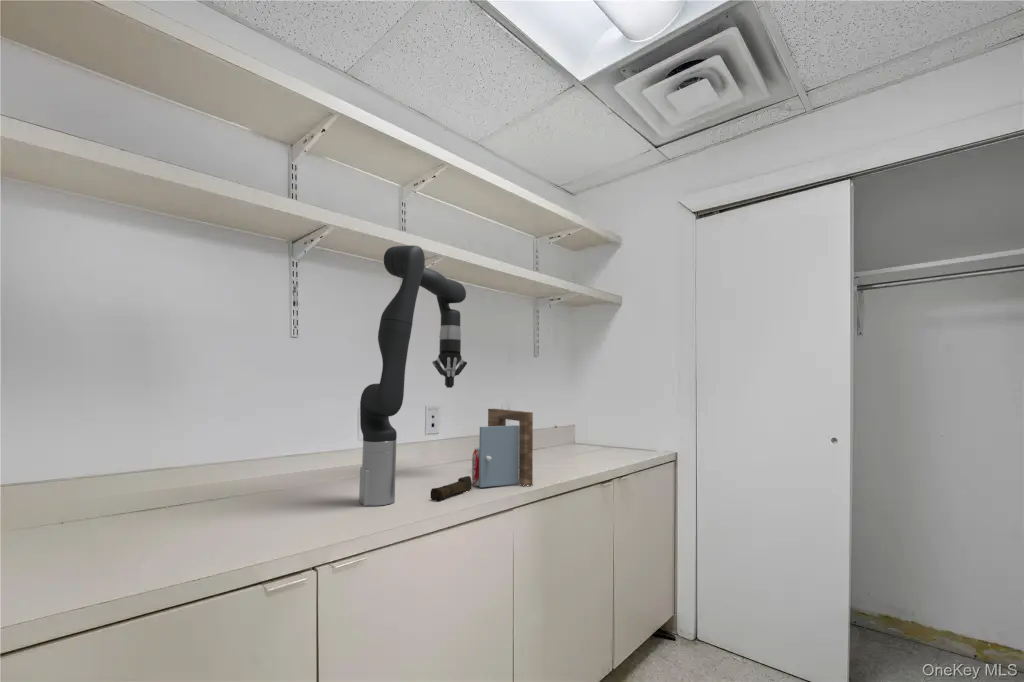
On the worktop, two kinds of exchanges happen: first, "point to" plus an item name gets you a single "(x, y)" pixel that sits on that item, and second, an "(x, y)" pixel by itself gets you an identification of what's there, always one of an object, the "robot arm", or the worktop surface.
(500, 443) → the door
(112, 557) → the worktop surface
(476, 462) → the soda can
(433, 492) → the wooden log
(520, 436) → the door frame
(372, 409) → the robot arm
